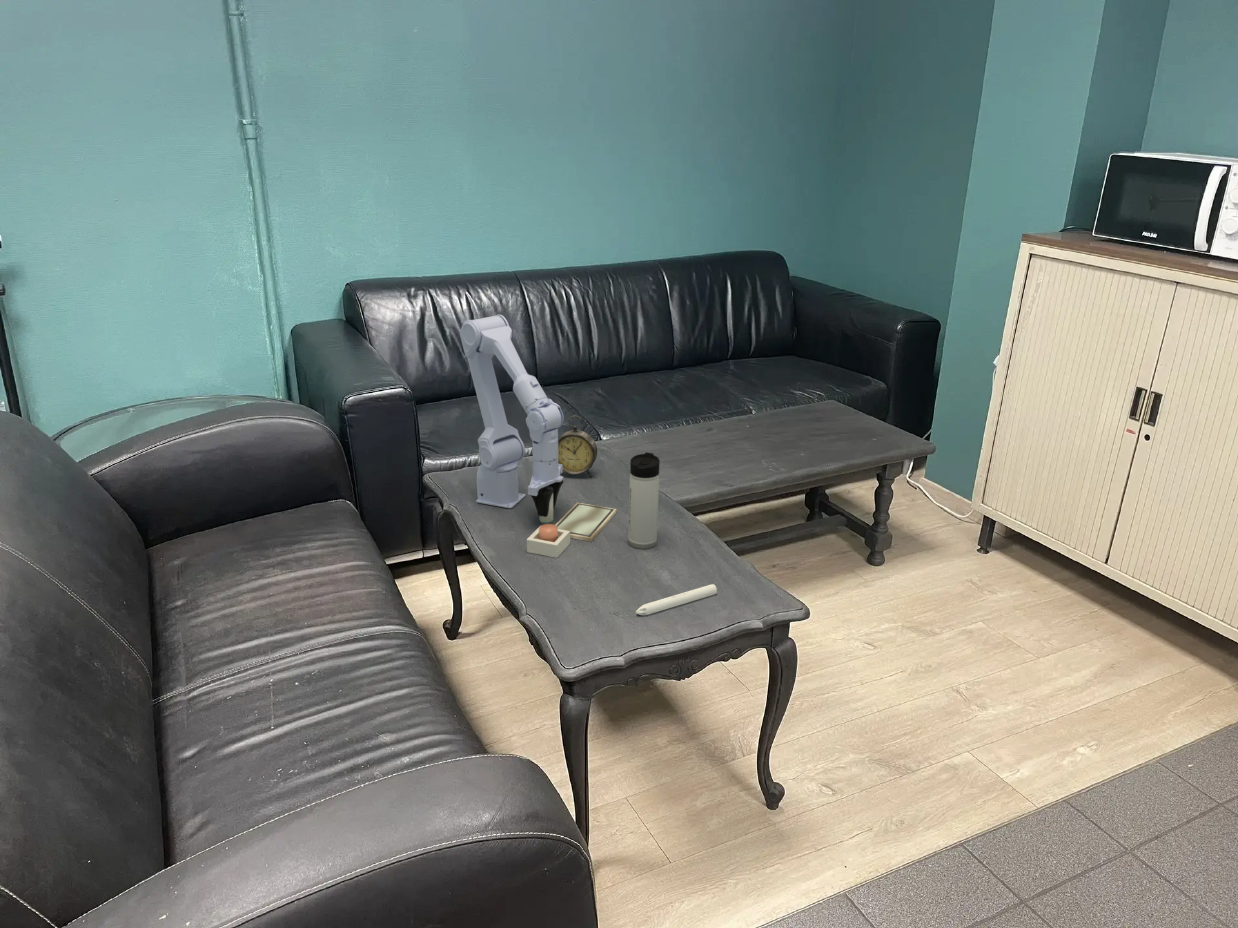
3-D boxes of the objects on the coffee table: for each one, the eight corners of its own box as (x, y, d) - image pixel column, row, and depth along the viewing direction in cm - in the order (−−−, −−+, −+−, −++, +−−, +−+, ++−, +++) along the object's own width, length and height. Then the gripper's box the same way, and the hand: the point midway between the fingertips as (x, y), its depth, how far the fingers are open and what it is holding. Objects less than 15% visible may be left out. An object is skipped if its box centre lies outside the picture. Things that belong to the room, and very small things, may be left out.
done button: (536, 543, 182) (535, 530, 181) (544, 535, 186) (543, 522, 185) (553, 546, 181) (553, 533, 180) (560, 538, 185) (560, 525, 184)
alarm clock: (552, 477, 220) (551, 417, 213) (557, 469, 225) (556, 410, 218) (594, 480, 218) (594, 420, 212) (598, 472, 223) (599, 413, 217)
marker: (638, 620, 159) (638, 609, 158) (632, 614, 161) (632, 604, 160) (716, 596, 168) (717, 585, 167) (710, 591, 169) (711, 580, 168)
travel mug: (660, 538, 189) (664, 454, 182) (651, 551, 184) (655, 465, 176) (633, 533, 191) (636, 450, 184) (624, 546, 185) (626, 461, 178)
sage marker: (537, 521, 196) (536, 490, 193) (543, 516, 198) (542, 484, 195) (549, 524, 195) (549, 492, 192) (555, 518, 197) (555, 486, 194)
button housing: (526, 551, 182) (526, 539, 181) (540, 537, 188) (540, 525, 187) (557, 557, 180) (556, 545, 179) (570, 543, 186) (569, 531, 185)
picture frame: (549, 533, 190) (549, 530, 190) (577, 505, 204) (577, 501, 204) (591, 541, 187) (591, 538, 187) (616, 512, 201) (616, 508, 201)
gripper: (548, 471, 183) (549, 528, 188) (574, 448, 196) (574, 502, 201) (518, 466, 185) (520, 523, 190) (546, 444, 198) (547, 497, 203)
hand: (546, 512), depth 196 cm, fingers closed on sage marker, 3 cm apart
